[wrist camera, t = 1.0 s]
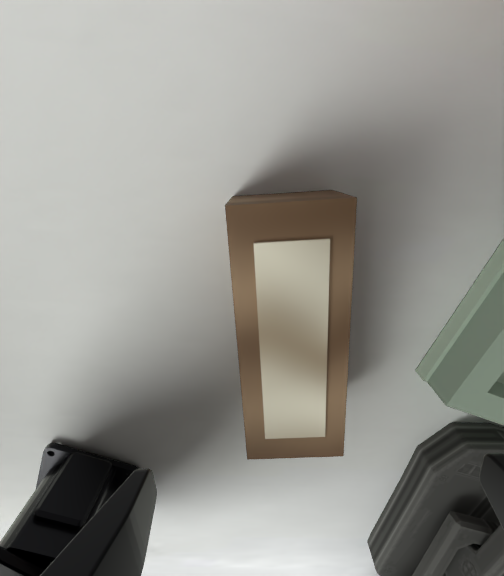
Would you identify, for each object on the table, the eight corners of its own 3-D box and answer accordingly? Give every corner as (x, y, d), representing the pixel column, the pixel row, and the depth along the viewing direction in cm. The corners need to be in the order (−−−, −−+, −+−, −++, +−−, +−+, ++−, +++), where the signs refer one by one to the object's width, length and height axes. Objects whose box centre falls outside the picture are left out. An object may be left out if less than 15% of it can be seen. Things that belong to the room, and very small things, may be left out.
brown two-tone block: (325, 398, 21) (344, 458, 17) (249, 400, 21) (247, 461, 17) (331, 189, 16) (358, 198, 12) (233, 195, 16) (224, 205, 12)
